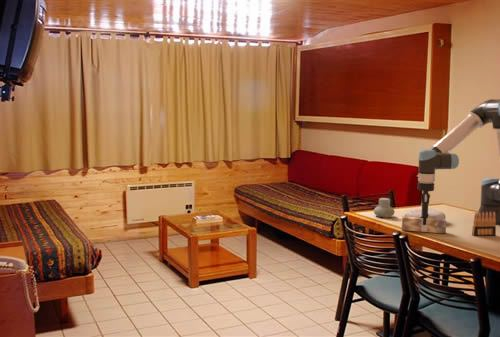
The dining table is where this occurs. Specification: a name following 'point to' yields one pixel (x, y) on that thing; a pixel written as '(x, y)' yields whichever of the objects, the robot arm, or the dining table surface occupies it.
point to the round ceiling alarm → (431, 212)
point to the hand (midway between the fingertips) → (423, 230)
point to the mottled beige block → (432, 224)
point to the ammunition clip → (484, 225)
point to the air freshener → (384, 208)
